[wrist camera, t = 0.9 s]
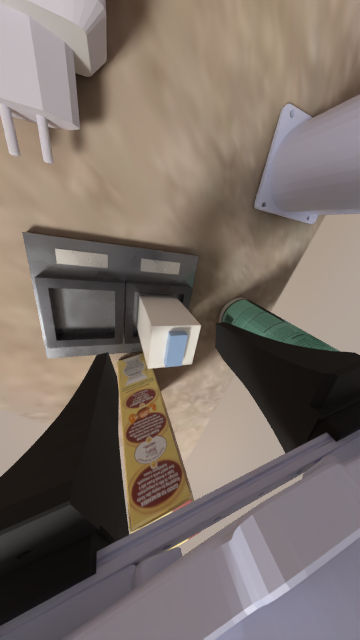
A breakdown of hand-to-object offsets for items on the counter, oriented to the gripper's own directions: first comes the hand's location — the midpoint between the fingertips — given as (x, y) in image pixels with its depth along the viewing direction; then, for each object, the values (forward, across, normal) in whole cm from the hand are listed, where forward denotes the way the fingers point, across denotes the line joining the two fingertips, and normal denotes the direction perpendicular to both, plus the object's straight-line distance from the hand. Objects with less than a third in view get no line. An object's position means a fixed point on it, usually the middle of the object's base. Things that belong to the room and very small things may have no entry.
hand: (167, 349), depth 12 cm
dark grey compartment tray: (+10, +2, 0) cm, 10 cm away
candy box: (+10, +2, +12) cm, 16 cm away
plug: (+9, -1, +2) cm, 9 cm away
